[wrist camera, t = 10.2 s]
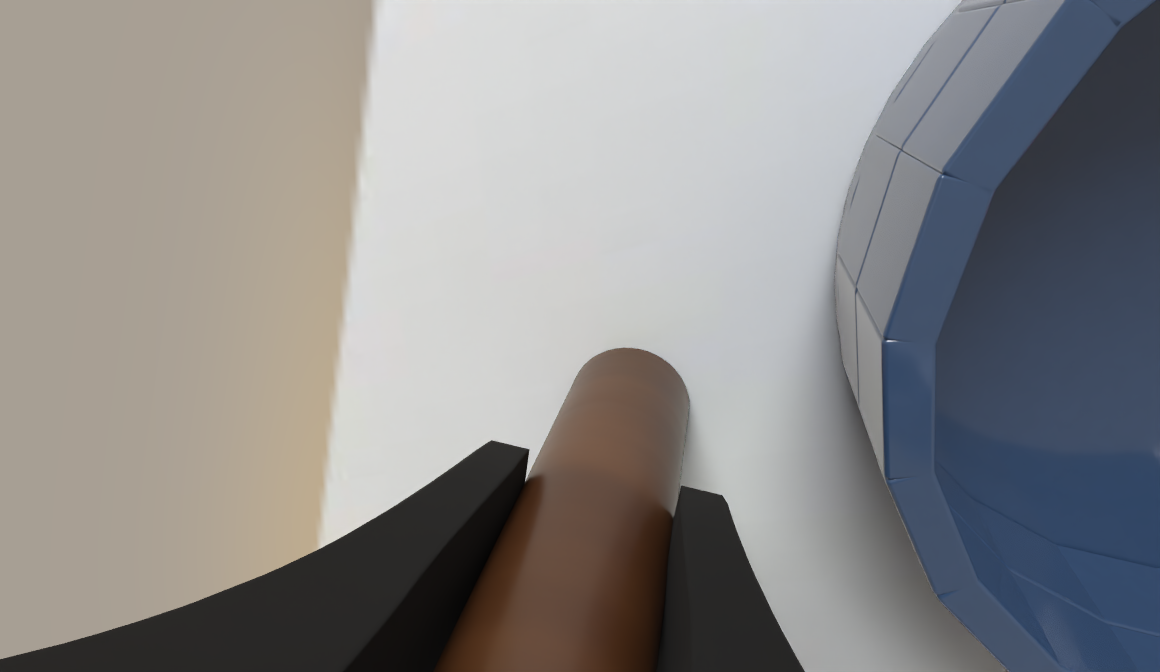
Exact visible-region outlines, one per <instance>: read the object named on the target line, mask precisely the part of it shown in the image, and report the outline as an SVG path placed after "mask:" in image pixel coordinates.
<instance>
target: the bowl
mask: <svg viewBox="0 0 1160 672" xmlns="http://www.w3.org/2000/svg"><path fill="white" fill-rule="evenodd" d="M834 282H835V300H836V317H837V325H838V330H839V335H840V340H841V357H842V360H843V365H844V368H845V371H846V374H847V376H848V379H849V382H850V385H851V388H852V391H853V393H854V396H855V399H856V402H857V405H858V407H859V410H860V413H861V415H862V419H863V422H864V424H865V427H866V430H867V433H868V436H869V439H870V441H871V444H872V447H873V450H874V453H875V456H876V458H877V461H878V464H879V467H880V470H881V473H882V475H883V478H884V481H885V484H886V486H887V488H888V491H889V493H890V495H891V498H892V500H893V502H894V505H895V507H896V509H897V512H898V514H899V516H900V518H901V521H902V523H903V525H904V528H905V530H906V532H907V535H908V537H909V539H910V542H911V544H912V546H913V549H914V551H915V553H916V556H917V558H918V560H919V563H920V565H921V567H922V569H923V572H924V574H925V576H926V579H927V581H928V583H929V586H930V588H931V590H932V591H933V592H934V593H935V594H936V597H937V599H938V600H939V601H940V602H941V603H942V604H943V605H944V606H945V607H946V608H947V609H948V610H949V611H950V612H951V613H952V614H953V615H954V616H955V618H956V619H957V620H958V621H959V622H960V623H961V624H962V625H963V626H964V627H965V628H966V629H967V630H968V631H969V632H970V633H971V634H972V635H973V636H974V637H975V638H976V639H977V640H978V641H979V642H980V643H981V644H982V645H983V646H984V647H985V648H986V649H987V650H988V651H989V652H990V653H991V654H992V656H993V657H994V658H995V659H996V660H997V661H998V662H999V663H1000V664H1001V665H1002V666H1003V667H1004V668H1005V669H1006V670H1007V671H1008V672H1160V0H962V1H961V3H960V4H959V5H958V6H957V7H956V8H955V10H954V11H953V12H952V13H951V14H950V15H949V17H948V18H947V19H946V20H945V21H944V22H943V24H942V25H941V26H940V27H939V28H938V30H937V31H936V32H935V33H934V34H933V35H932V37H931V38H930V39H929V40H928V41H927V42H926V44H925V45H924V46H923V48H922V49H921V51H920V52H919V54H918V55H917V57H916V58H915V60H914V61H913V63H912V64H911V65H910V67H909V68H908V70H907V71H906V73H905V74H904V76H903V77H902V79H901V80H900V82H899V83H898V85H897V86H896V88H895V89H894V91H893V92H892V94H891V96H890V97H889V99H888V101H887V103H886V105H885V107H884V109H883V111H882V113H881V115H880V117H879V119H878V121H877V123H876V124H875V126H874V128H873V130H872V132H871V134H870V136H869V138H868V140H867V142H866V145H865V147H864V150H863V153H862V155H861V158H860V161H859V163H858V166H857V169H856V171H855V174H854V177H853V179H852V182H851V185H850V188H849V191H848V195H847V200H846V204H845V208H844V213H843V217H842V221H841V226H840V230H839V234H838V244H837V255H836V267H835V278H834Z"/></svg>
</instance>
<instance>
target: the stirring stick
mask: <svg viewBox="0 0 1160 672" xmlns="http://www.w3.org/2000/svg"><path fill="white" fill-rule="evenodd" d="M688 414H689V397H688V392H687V389H686V386H685V384H684V382H683V380H682V378H681V377H680V375H679V374H678V373H677V371H676V370H675V369H674V368H673V367H672V366H671V365H670V364H669V363H667V362H666V361H665V360H663V359H662V358H660V357H658V356H657V355H655V354H652V353H650V352H648V351H644V350H640V349H634V348H618V349H613V350H608V351H606V352H603V353H601V354H599V355H597V356H595V357H593V358H592V359H591V360H589V361H588V362H587V363H586V364H585V365H584V366H583V367H582V369H581V370H580V371H579V373H578V375H577V376H576V378H575V380H574V383H573V385H572V387H571V389H570V391H569V393H568V395H567V397H566V399H565V401H564V403H563V405H562V407H561V409H560V411H559V413H558V415H557V417H556V420H555V422H554V424H553V426H552V428H551V430H550V432H549V434H548V436H547V438H546V440H545V442H544V444H543V446H542V448H541V450H540V452H539V454H538V457H537V459H536V461H535V463H534V465H533V467H532V469H531V471H530V473H529V475H528V477H527V479H526V481H525V484H524V486H523V488H522V490H521V492H520V494H519V496H518V498H517V500H516V502H515V504H514V506H513V508H512V510H511V512H510V514H509V516H508V519H507V521H506V523H505V525H504V527H503V529H502V531H501V533H500V535H499V537H498V539H497V541H496V543H495V545H494V547H493V549H492V551H491V553H490V555H489V557H488V559H487V561H486V563H485V565H484V568H483V570H482V572H481V574H480V576H479V578H478V580H477V582H476V584H475V586H474V588H473V590H472V592H471V594H470V596H469V598H468V600H467V602H466V605H465V607H464V609H463V611H462V613H461V615H460V617H459V619H458V621H457V623H456V625H455V627H454V629H453V631H452V633H451V635H450V637H449V639H448V642H447V644H446V646H445V648H444V650H443V652H442V654H441V656H440V658H439V660H438V662H437V664H436V666H435V668H434V670H433V672H656V668H657V661H658V653H659V645H660V637H661V629H662V621H663V613H664V605H665V594H666V581H667V566H668V557H669V549H670V541H671V533H672V525H673V518H674V514H675V509H676V505H677V501H678V493H679V485H680V477H681V470H682V462H683V454H684V446H685V438H686V430H687V422H688Z"/></svg>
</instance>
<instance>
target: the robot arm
mask: <svg viewBox="0 0 1160 672" xmlns="http://www.w3.org/2000/svg"><path fill="white" fill-rule="evenodd" d="M528 455H529V449H525V448H521V447H517V446H513V445H509V444H504V443H500V442H496V441H492V440H491V441H490V442H488V443H486V444H485V445H483V446H482V447H480V448H479V449H477V450H476V451H475V452H473V453H472V454H470V455H469V456H468V457H466V458H465V459H463V460H462V461H461V462H459V463H458V464H456V465H455V466H454V467H452V468H451V469H449V470H448V471H447V472H445V473H444V474H442V475H441V476H439V477H438V478H436V479H435V480H434V481H432V482H431V483H429V484H428V485H426V486H425V487H423V488H422V489H420V490H419V491H417V492H416V493H414V494H412V495H411V496H409V497H408V498H406V499H405V500H403V501H402V502H400V503H399V504H397V505H396V506H394V507H392V508H391V509H389V510H388V511H386V512H384V513H383V514H381V515H379V516H377V517H376V518H374V519H372V520H371V521H369V522H367V523H366V524H364V525H362V526H360V527H359V528H357V529H355V530H354V531H352V532H350V533H348V534H347V535H345V536H343V537H341V538H340V539H338V540H336V541H334V542H332V543H330V544H328V545H326V546H325V547H323V548H321V549H319V550H317V551H315V552H313V553H310V554H308V555H306V556H304V557H302V558H300V559H298V560H296V561H293V562H291V563H289V564H287V565H285V566H283V567H281V568H279V569H276V570H274V571H272V572H269V573H267V574H265V575H262V576H260V577H257V578H255V579H252V580H250V581H247V582H245V583H242V584H240V585H237V586H234V587H232V588H230V589H227V590H224V591H222V592H219V593H217V594H214V595H212V596H209V597H207V598H204V599H202V600H199V601H196V602H194V603H191V604H188V605H186V606H183V607H180V608H177V609H174V610H171V611H168V612H165V613H162V614H159V615H156V616H153V617H150V618H148V619H144V620H141V621H138V622H135V623H131V624H129V625H125V626H122V627H118V628H115V629H112V630H109V631H105V632H102V633H99V634H96V635H92V636H89V637H85V638H81V639H78V640H74V641H71V642H67V643H64V644H60V645H56V646H52V647H48V648H44V649H40V650H36V651H32V652H28V653H24V654H20V655H16V656H12V657H8V658H4V659H0V672H433V670H434V668H435V666H436V664H437V662H438V660H439V658H440V656H441V654H442V652H443V650H444V648H445V646H446V644H447V642H448V639H449V637H450V635H451V633H452V631H453V629H454V627H455V625H456V623H457V621H458V619H459V617H460V615H461V613H462V611H463V609H464V607H465V605H466V602H467V600H468V598H469V596H470V594H471V592H472V590H473V588H474V586H475V584H476V582H477V580H478V578H479V576H480V574H481V572H482V570H483V568H484V565H485V563H486V561H487V559H488V557H489V555H490V553H491V551H492V549H493V547H494V545H495V543H496V541H497V539H498V537H499V535H500V533H501V531H502V529H503V527H504V525H505V523H506V521H507V519H508V516H509V514H510V512H511V510H512V508H513V506H514V504H515V502H516V500H517V498H518V496H519V494H520V492H521V490H522V488H523V486H524V484H525V478H526V470H527V463H528ZM656 672H805V671H804V669H803V668H802V666H801V664H800V663H799V661H798V659H797V657H796V655H795V654H794V652H793V650H792V648H791V646H790V645H789V643H788V641H787V639H786V637H785V635H784V634H783V632H782V630H781V628H780V626H779V624H778V622H777V620H776V618H775V616H774V614H773V612H772V610H771V608H770V606H769V604H768V602H767V600H766V598H765V596H764V594H763V591H762V589H761V587H760V585H759V583H758V581H757V579H756V577H755V574H754V572H753V570H752V568H751V565H750V563H749V561H748V558H747V556H746V553H745V551H744V548H743V546H742V543H741V541H740V538H739V536H738V533H737V530H736V528H735V525H734V522H733V519H732V516H731V513H730V510H729V507H728V504H727V502H726V501H725V499H724V497H723V496H722V495H718V494H714V493H710V492H706V491H701V490H697V489H693V488H689V487H685V486H681V489H680V493H679V497H678V501H677V505H676V509H675V514H674V518H673V525H672V533H671V541H670V549H669V557H668V566H667V581H666V594H665V605H664V613H663V621H662V629H661V637H660V645H659V653H658V661H657V668H656Z"/></svg>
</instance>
